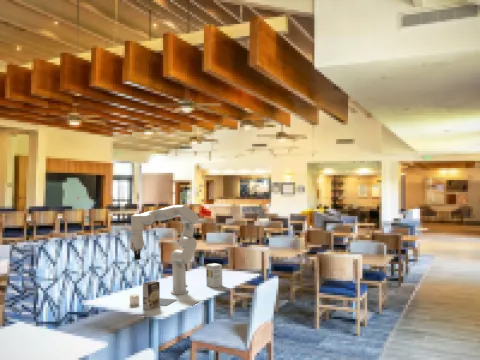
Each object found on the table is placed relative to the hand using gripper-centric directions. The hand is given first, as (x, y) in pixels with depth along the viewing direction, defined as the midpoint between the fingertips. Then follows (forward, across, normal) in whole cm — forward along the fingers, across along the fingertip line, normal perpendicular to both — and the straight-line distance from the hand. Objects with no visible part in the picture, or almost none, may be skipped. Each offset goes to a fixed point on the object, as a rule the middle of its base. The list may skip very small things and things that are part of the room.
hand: (137, 259), depth 280 cm
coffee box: (+29, +9, +16) cm, 35 cm away
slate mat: (+29, -4, +16) cm, 33 cm away
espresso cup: (+29, +6, +1) cm, 30 cm away
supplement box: (+29, -56, +33) cm, 72 cm away
